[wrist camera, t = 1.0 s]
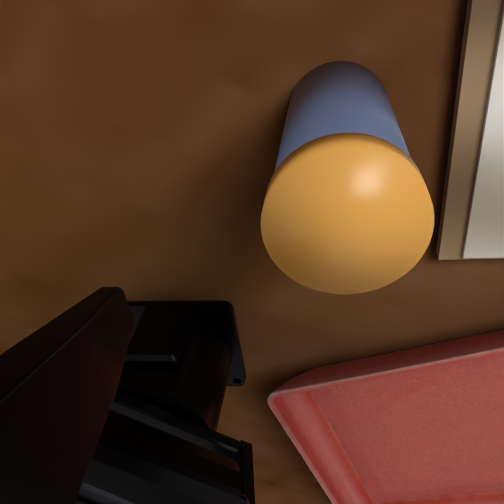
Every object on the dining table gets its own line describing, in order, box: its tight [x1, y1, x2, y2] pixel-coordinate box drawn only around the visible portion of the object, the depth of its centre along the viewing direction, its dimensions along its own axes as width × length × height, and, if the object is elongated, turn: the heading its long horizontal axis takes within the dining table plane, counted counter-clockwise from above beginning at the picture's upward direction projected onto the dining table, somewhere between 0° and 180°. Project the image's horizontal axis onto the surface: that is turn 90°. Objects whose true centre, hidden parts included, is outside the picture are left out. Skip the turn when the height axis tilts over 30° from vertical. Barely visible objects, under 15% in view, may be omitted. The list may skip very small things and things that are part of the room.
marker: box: [261, 61, 434, 294], centre depth 15 cm, size 4×4×9 cm
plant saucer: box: [267, 330, 504, 504], centre depth 28 cm, size 18×18×3 cm
